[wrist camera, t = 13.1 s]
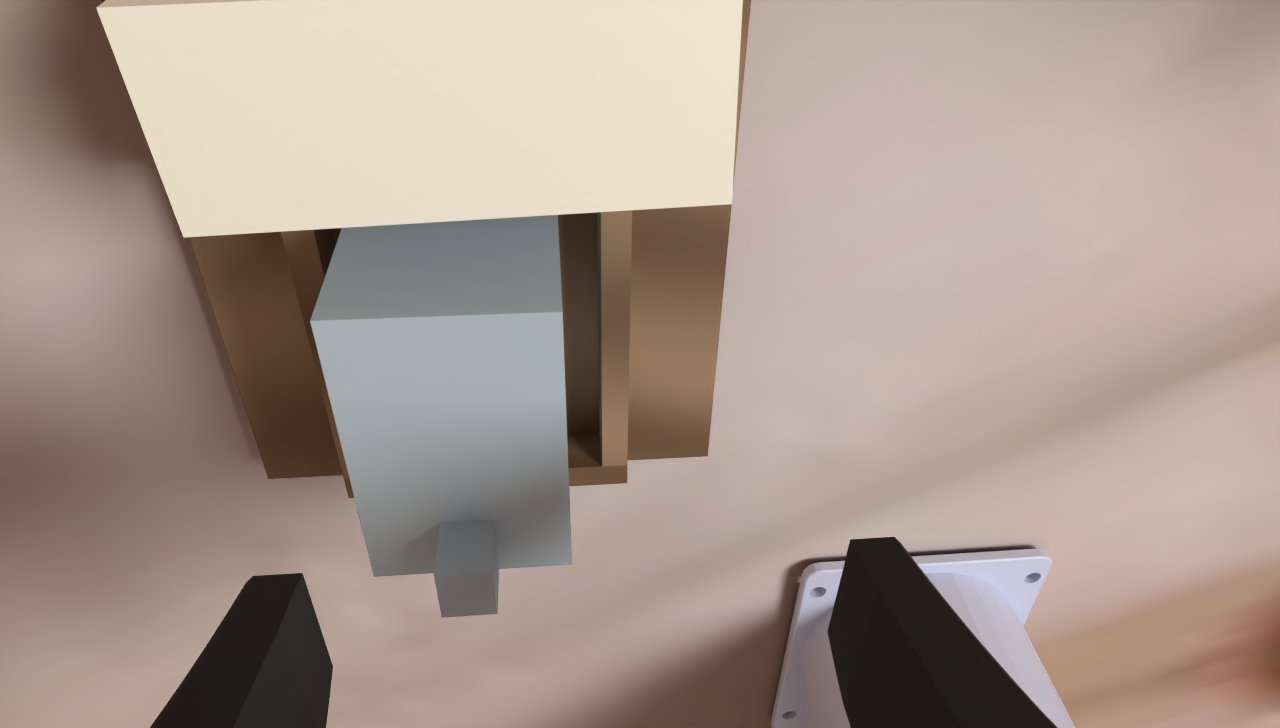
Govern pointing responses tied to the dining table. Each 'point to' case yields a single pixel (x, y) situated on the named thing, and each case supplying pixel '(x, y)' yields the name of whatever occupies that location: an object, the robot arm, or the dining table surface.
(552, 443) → the blue box with knob
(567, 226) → the jig
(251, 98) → the cream rectangular block
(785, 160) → the dining table surface
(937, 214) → the dining table surface
